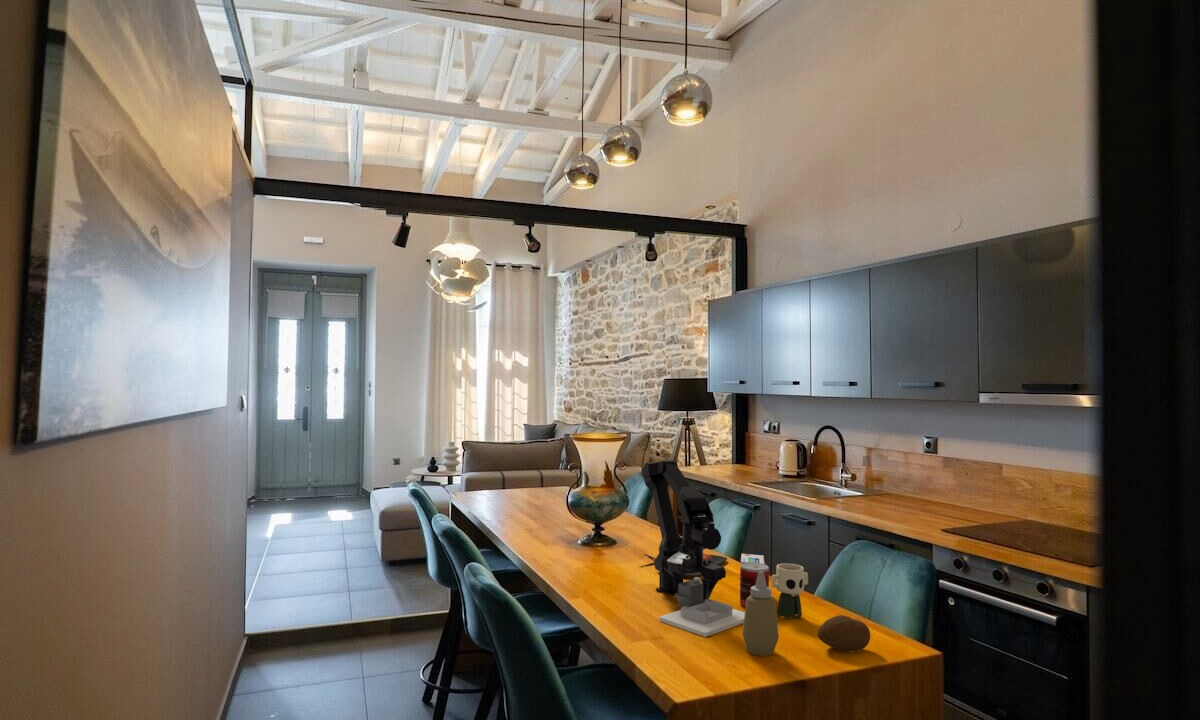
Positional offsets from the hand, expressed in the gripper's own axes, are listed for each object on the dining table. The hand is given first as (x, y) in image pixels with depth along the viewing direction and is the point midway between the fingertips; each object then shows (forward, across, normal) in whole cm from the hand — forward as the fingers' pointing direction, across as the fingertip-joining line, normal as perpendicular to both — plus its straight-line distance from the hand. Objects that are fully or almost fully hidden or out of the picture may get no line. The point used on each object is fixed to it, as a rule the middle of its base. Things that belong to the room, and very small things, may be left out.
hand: (692, 598), depth 195 cm
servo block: (+2, 0, 0) cm, 2 cm away
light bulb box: (+2, +6, +20) cm, 21 cm away
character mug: (+2, +23, +12) cm, 26 cm away
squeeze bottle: (+2, +32, -15) cm, 35 cm away
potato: (+2, +44, +1) cm, 44 cm away
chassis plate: (+2, +10, -7) cm, 13 cm away
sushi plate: (+2, -32, +30) cm, 44 cm away
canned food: (+2, +12, +12) cm, 17 cm away
